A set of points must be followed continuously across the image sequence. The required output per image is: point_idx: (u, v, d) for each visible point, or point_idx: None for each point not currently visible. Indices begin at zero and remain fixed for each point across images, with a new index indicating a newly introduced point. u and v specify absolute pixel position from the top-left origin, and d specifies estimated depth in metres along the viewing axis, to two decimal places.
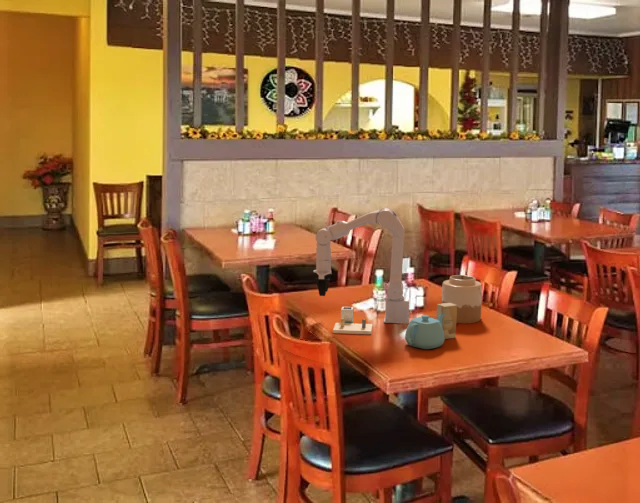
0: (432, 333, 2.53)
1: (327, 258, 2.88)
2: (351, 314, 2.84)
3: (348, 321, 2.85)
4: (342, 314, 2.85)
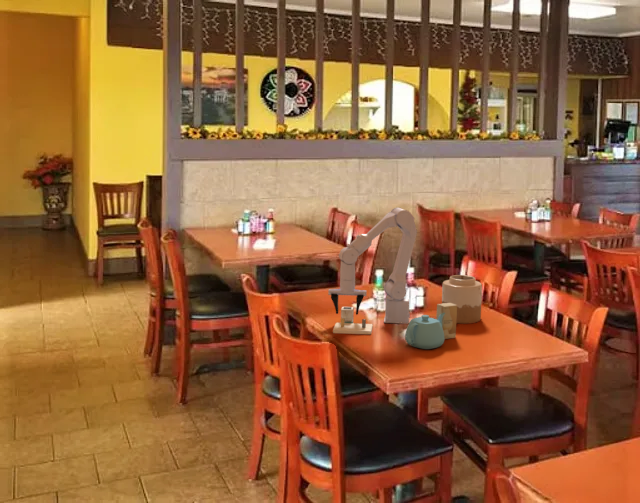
0: (432, 333, 2.53)
1: (353, 277, 2.82)
2: (351, 314, 2.84)
3: (348, 321, 2.85)
4: (342, 314, 2.85)
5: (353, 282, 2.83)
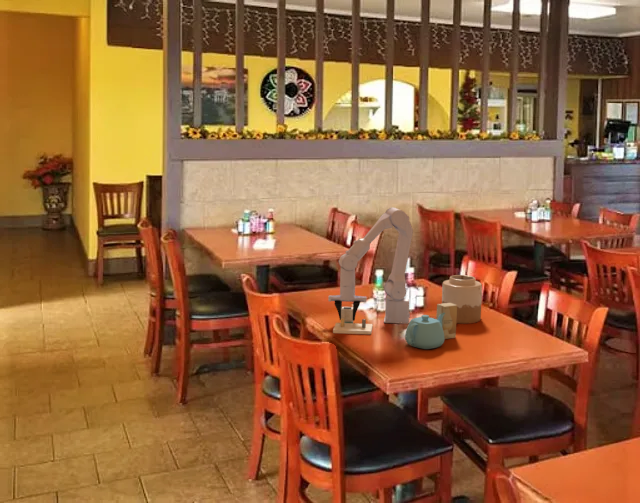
0: (432, 332, 2.53)
1: (353, 284, 2.83)
2: (351, 314, 2.84)
3: (348, 321, 2.85)
4: (342, 314, 2.85)
5: (353, 288, 2.83)
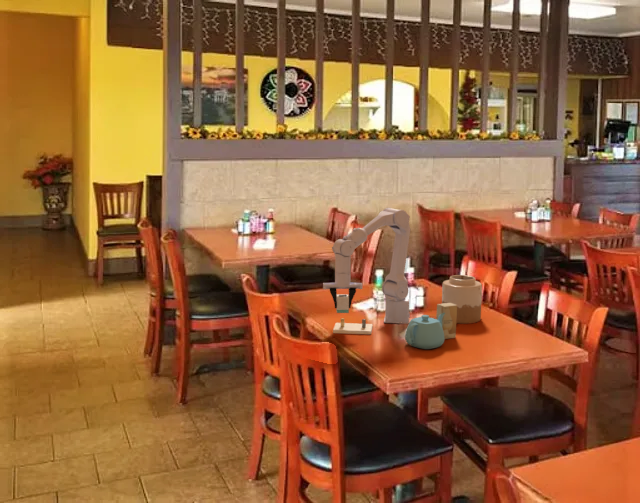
0: (432, 332, 2.53)
1: (350, 270, 2.74)
2: (347, 302, 2.75)
3: (344, 309, 2.75)
4: (338, 302, 2.75)
5: (349, 275, 2.74)
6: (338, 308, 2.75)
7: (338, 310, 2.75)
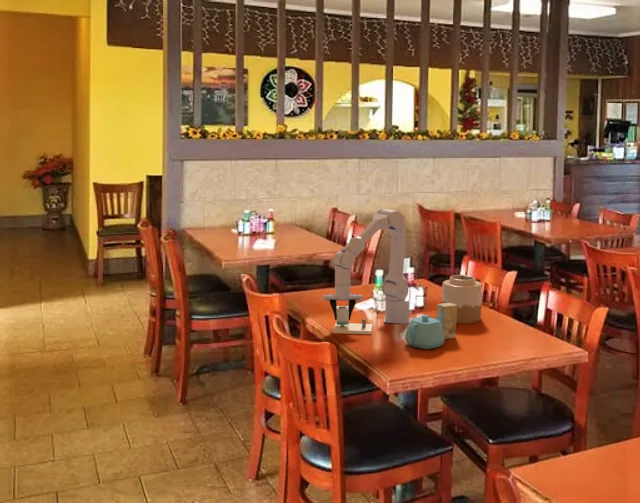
0: (432, 332, 2.53)
1: None
2: (347, 313, 2.75)
3: (344, 321, 2.76)
4: (338, 314, 2.75)
5: (349, 287, 2.74)
6: (338, 320, 2.76)
7: (338, 322, 2.76)
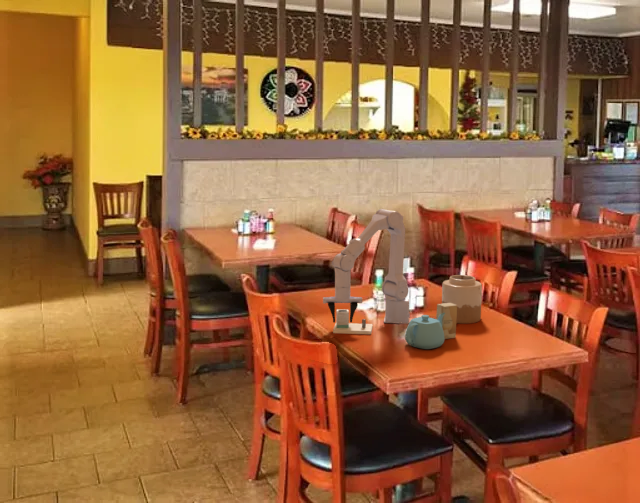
0: (432, 332, 2.53)
1: None
2: (347, 317, 2.76)
3: (344, 324, 2.76)
4: (338, 317, 2.76)
5: (349, 289, 2.75)
6: (338, 323, 2.76)
7: (338, 325, 2.76)
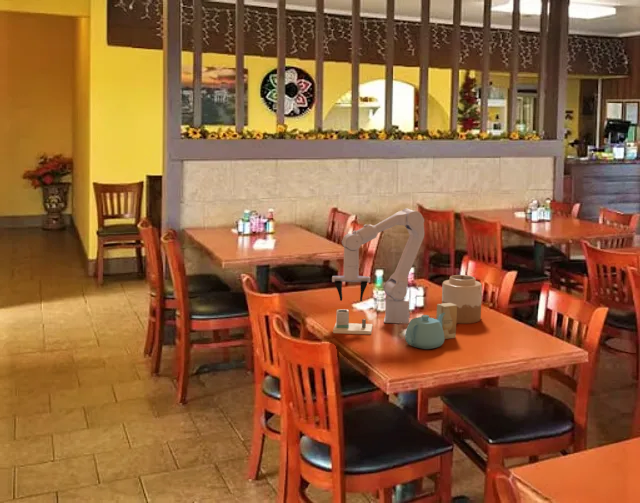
0: (432, 333, 2.53)
1: (357, 264, 2.81)
2: (347, 317, 2.76)
3: (344, 324, 2.76)
4: (338, 317, 2.76)
5: (357, 268, 2.81)
6: (338, 323, 2.76)
7: (338, 325, 2.76)
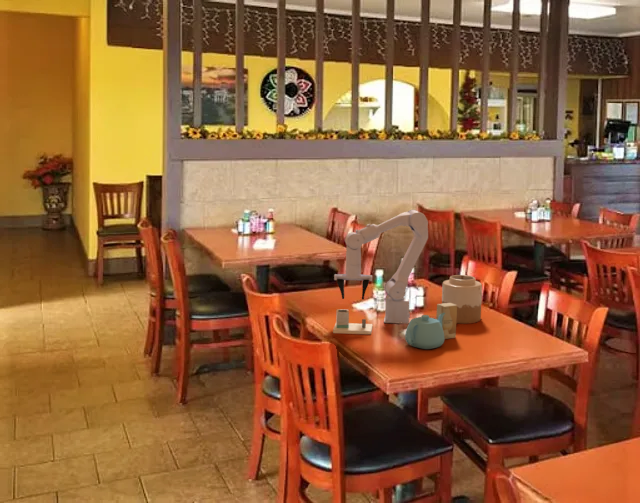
0: (432, 333, 2.53)
1: (358, 262, 2.83)
2: (347, 317, 2.76)
3: (344, 324, 2.76)
4: (338, 317, 2.76)
5: (359, 267, 2.84)
6: (338, 323, 2.76)
7: (338, 325, 2.76)
